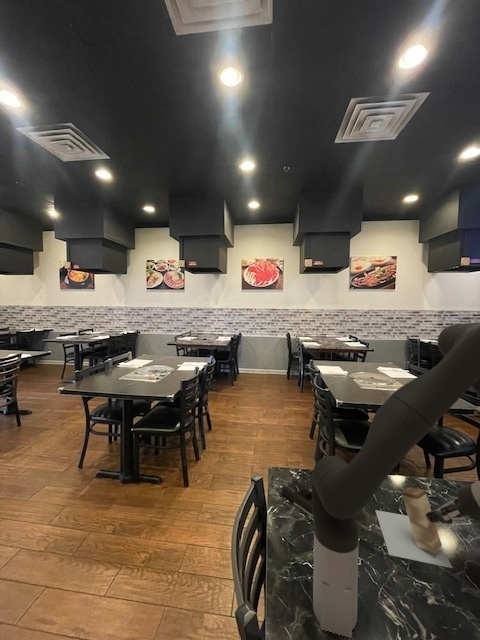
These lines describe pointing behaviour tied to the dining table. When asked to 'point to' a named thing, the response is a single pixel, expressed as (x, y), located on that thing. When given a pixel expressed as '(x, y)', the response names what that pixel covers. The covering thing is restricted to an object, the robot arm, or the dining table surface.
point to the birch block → (421, 519)
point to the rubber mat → (406, 540)
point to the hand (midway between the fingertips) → (429, 517)
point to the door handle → (300, 498)
